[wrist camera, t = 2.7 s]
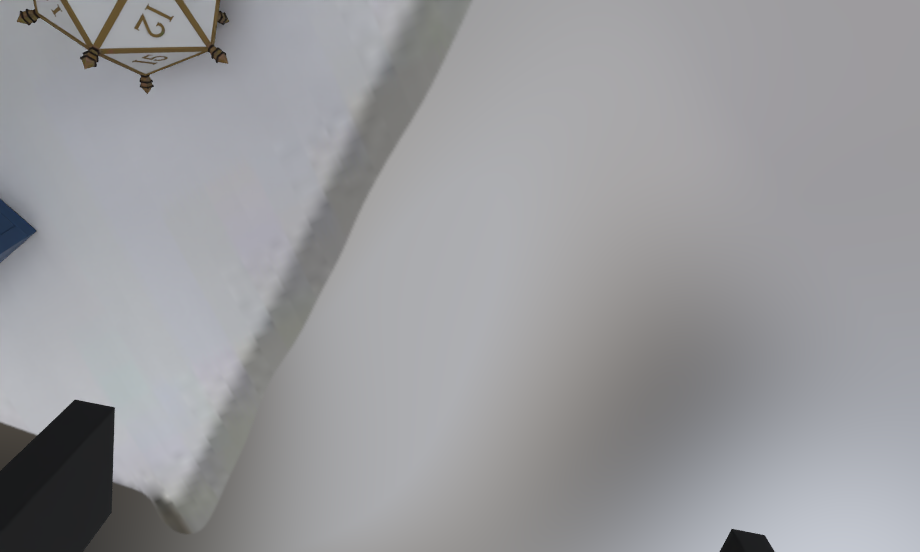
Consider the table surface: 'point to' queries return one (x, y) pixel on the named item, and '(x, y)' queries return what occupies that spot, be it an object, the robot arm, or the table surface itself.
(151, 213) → the table surface
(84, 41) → the game die
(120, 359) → the table surface
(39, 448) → the robot arm
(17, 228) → the box
